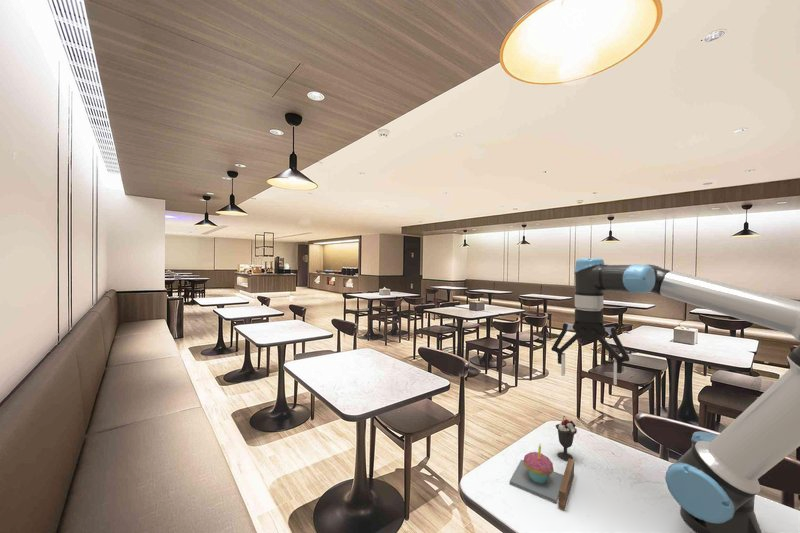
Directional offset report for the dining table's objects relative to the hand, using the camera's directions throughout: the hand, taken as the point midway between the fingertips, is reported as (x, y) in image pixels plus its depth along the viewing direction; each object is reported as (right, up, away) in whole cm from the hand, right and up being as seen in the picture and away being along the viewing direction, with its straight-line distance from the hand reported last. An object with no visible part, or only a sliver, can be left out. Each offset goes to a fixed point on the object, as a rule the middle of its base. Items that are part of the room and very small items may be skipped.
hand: (588, 378), depth 98 cm
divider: (-8, -32, -2) cm, 33 cm away
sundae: (0, -32, +14) cm, 35 cm away
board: (-15, -32, +1) cm, 35 cm away
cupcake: (-15, -31, +1) cm, 35 cm away
